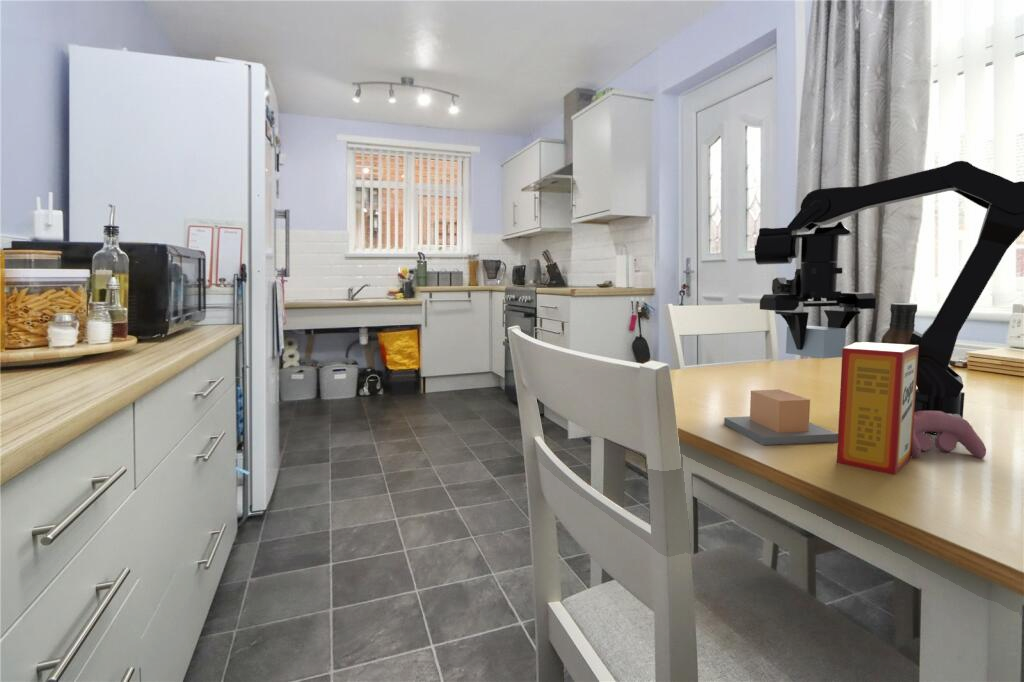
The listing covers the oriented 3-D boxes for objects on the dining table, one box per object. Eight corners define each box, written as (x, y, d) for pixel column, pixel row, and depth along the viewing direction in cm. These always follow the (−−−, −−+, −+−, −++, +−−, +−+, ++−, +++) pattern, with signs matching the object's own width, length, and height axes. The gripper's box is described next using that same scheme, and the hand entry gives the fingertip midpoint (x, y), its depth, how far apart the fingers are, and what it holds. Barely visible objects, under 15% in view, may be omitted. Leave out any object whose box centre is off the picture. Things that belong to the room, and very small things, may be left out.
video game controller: (968, 462, 75) (955, 413, 78) (992, 457, 71) (978, 406, 74) (894, 461, 76) (884, 413, 79) (914, 456, 72) (902, 406, 74)
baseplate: (789, 421, 92) (790, 414, 92) (838, 441, 81) (838, 433, 80) (724, 424, 91) (724, 417, 91) (763, 445, 79) (763, 437, 79)
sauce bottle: (869, 406, 102) (875, 303, 100) (882, 401, 106) (887, 302, 104) (909, 412, 97) (916, 304, 95) (920, 407, 101) (927, 303, 99)
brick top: (806, 351, 101) (807, 325, 100) (844, 356, 93) (846, 328, 93) (785, 353, 99) (786, 326, 99) (823, 358, 92) (824, 329, 91)
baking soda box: (856, 447, 78) (862, 339, 76) (911, 457, 73) (918, 342, 71) (836, 462, 71) (842, 345, 70) (895, 474, 67) (902, 349, 65)
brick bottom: (777, 418, 90) (778, 389, 90) (808, 431, 82) (810, 399, 82) (749, 419, 90) (750, 390, 89) (778, 432, 82) (779, 400, 81)
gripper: (836, 263, 103) (833, 343, 105) (745, 265, 102) (742, 345, 103) (881, 261, 92) (876, 350, 94) (779, 262, 91) (775, 352, 92)
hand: (814, 349), depth 96 cm, fingers closed on brick top, 6 cm apart
